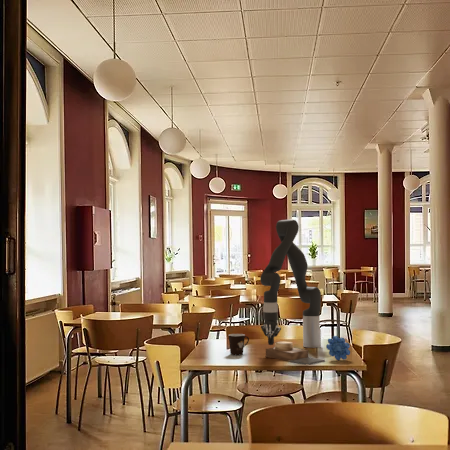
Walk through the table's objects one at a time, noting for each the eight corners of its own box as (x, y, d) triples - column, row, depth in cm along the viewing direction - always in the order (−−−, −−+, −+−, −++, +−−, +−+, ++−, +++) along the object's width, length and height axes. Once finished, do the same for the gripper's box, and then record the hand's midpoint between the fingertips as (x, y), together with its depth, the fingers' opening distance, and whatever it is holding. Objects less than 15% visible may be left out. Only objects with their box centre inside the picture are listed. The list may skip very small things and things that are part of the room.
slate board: (307, 358, 314) (307, 357, 314) (324, 361, 306) (324, 359, 306) (290, 361, 305) (290, 360, 306) (307, 364, 298) (307, 363, 298)
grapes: (326, 361, 306) (326, 336, 307) (326, 359, 313) (326, 334, 313) (351, 361, 305) (350, 336, 305) (350, 359, 311) (349, 335, 312)
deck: (281, 354, 329) (281, 346, 329) (308, 358, 315) (308, 350, 315) (265, 356, 320) (265, 348, 321) (292, 361, 307) (292, 353, 307)
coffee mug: (230, 356, 323) (230, 336, 324) (226, 353, 332) (226, 334, 332) (252, 355, 326) (252, 335, 326) (248, 352, 334) (248, 333, 335)
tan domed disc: (283, 346, 326) (283, 341, 326) (296, 348, 319) (296, 343, 319) (271, 349, 320) (271, 343, 320) (283, 351, 313) (283, 345, 313)
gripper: (285, 311, 324) (285, 345, 324) (266, 309, 334) (266, 342, 334) (275, 312, 319) (275, 347, 319) (256, 310, 329) (256, 344, 329)
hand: (270, 344), depth 326 cm, fingers closed
